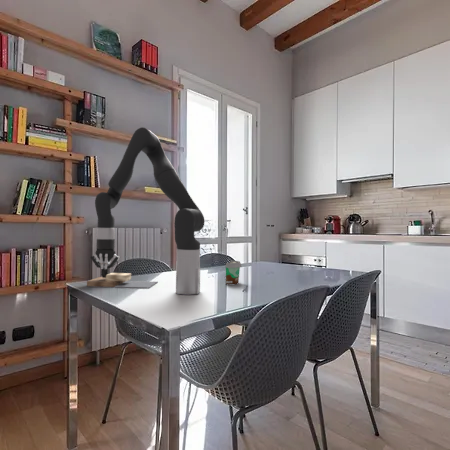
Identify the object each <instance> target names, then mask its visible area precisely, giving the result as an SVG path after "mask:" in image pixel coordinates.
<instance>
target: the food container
mask: <svg viewBox="0 0 450 450" xmlns="http://www.w3.org/2000/svg"><path fill="white" fill-rule="evenodd" d="M241 267H242V262H241V261H239V260H230V262H226V263H225V285H226V284H235V285H238V284H239V280H240V279H239V278H240V271H241V270H240V269H241ZM237 283H238V284H237Z"/></svg>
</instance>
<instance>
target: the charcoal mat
mask: <svg viewBox="0 0 450 450" xmlns="http://www.w3.org/2000/svg"><path fill="white" fill-rule="evenodd" d="M158 283H159V282H158V281H145V280H128V281H125V282H123V283H121V284H119V285H117V286H115V287H114V288H119V289H120V288H121V289H122V288H125V289H151V288H152V287H153V286H155V285H156V284H158Z"/></svg>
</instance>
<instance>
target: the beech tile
mask: <svg viewBox="0 0 450 450" xmlns="http://www.w3.org/2000/svg"><path fill="white" fill-rule="evenodd" d="M131 280H132V273H131V272H130V273H129V272H126V273H125V272H109V274H107V275H106V281H131Z"/></svg>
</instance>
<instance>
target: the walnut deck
mask: <svg viewBox="0 0 450 450" xmlns="http://www.w3.org/2000/svg"><path fill="white" fill-rule="evenodd" d="M123 282H125V281H106V278H103V277H102V276H98V277H95V278H93V279H89V280H87V281H86V287H100V288H101V287H105V288H116V287H115V286H117V285H119V284H121V283H123Z"/></svg>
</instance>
